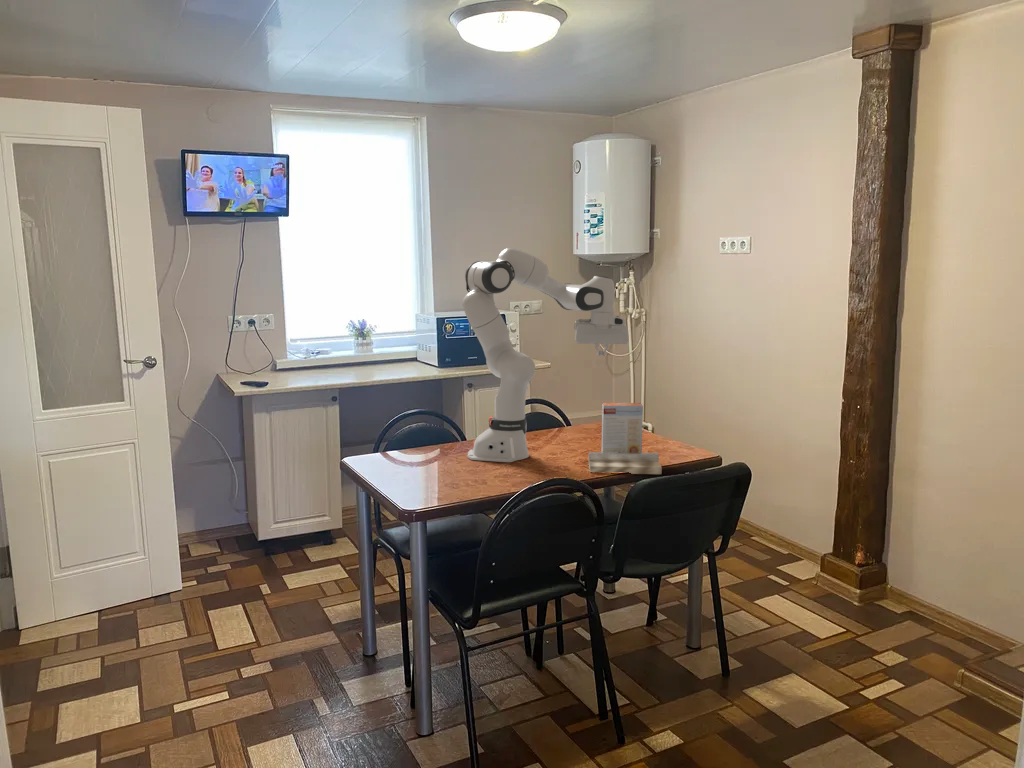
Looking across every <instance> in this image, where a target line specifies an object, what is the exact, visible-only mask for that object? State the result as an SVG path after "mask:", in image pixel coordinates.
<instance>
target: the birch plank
mask: <svg viewBox="0 0 1024 768" xmlns="http://www.w3.org/2000/svg"><path fill="white" fill-rule="evenodd" d="M588 465H589V466H588V469H590V470H589V473H590V472H629V473H631V474H632V475H635V474H636V475H662V471H663V467H662V465H661V463H660V462H639V461H589V460H588ZM631 474H630V475H631Z"/></svg>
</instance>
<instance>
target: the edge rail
mask: <svg viewBox="0 0 1024 768" xmlns="http://www.w3.org/2000/svg"><path fill="white" fill-rule="evenodd" d="M659 454H660V453H659V452H642V453H621V452H601V451H588V462H589V461H639V462H659V461H660V460H659V459H660V457H659V456H660V455H659ZM659 463H660V462H659Z"/></svg>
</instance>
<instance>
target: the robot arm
mask: <svg viewBox="0 0 1024 768" xmlns="http://www.w3.org/2000/svg"><path fill="white" fill-rule="evenodd" d="M464 275H465V276H464V278H465V283H466V285H465V286H466V291H467V292H468V293H466V295H465V296H464V297H463V299H462V307H463V310H464V313H465V315H466V319H467V320H468V321H467V322H469V325H470V327H471V328H472V330H473V332H474V334H475V336H476V337H477V340H478V342H479V344H480V345H481V347H482V351H483V354H484V357H485V361H486V362H485V363H486V367H487V369H488V370H489V372H490V373H491V374H492V375H494V376H495V377H497V378H499V379H500V385H499V388H498V392H497V393H496V395H495V396H494V417H493V416H489V417H488V427H489V428H487V429H486V430H485V431H483V432H482V433H480V434H479V435H478V436H476V438H475V440H474V443H473V448H471V449H469V450H468V451H467V458H468V459H469V460H472V461H483V462H484V461H485V462H499V463H513V462H515V461H520V460H525V459H528V458H529V457H530V453H529V450H528V444H527V434H526V433H527V430H528V429H527V417H526V396H527V392H528V387H529V383H530V381H531V380H532V379H533V377H534V376H535V372H536V364H535V362H534V360H533V359H532V358H531V357H530V356H528V355H527V353H524V352H521V351H518V350H515V349H514V348H513V346H512V343H511V339H510V330H509V327H508V326H507V324H506V322H505V320H504V319H503V316H502V315H501V313H500V311H499V310H498V308H497V306H496V304H495V300H494V294H500V293H502V292H504V291H507V289H508V288H509V287H510V286H511V284H512V282H514V283H517V284H519V285H520V286H523V287H526V288H528V289H532V290H537V291H540V292H541V293H543V294H545V295H547V296H550V297H551V298H553V299H554V300H555V302H556V303H557V304H558V305H559V306H560V308H561V309H563V310H566V311H578V312H589V311H590V318H585V319H584V318H580V319H577V320H575V321H574V326H573V327H574V330H575V334H574V342H575V344H578V345H579V344H580V345H581V344H583V345H585V344H586V345H594V348H595V350H596V356H597V357H598V356H599V357H601V356H602V357H605V356H606V351H607V350H608V348H609V345H627V344H628V343H629V341H630V340H629V337H630V335H629V330H628V327H627V326H626V323H627V320H626V319H625V318H624V317H621V316H619V315H615V308H614V302H615V298H616V296H615V295H616V294H615V293H616V292H615V291H616V290H615V283H614V280H613V279H612V278H611V277H608V276H604V275H603V276H602V275H594V276H593V278H591V279H590V280H588V281H587V282H585V283H582V284H574V283H562V282H560V281H558V280H557V279H554V278H553V277H552V276H550V275H549V267H548V265H547V264H546V263H545V262H544V261H542V260H541V259H539V258H537V257H536V256H534V255H532V254H529V253H528V252H526V251H522V250H520V249H517V248H512V247H507V248H504V249H503V250H502V251H501V252H500V253H499V255H498V257H497V259H496V260H494V261H492V260H477V261H475V262H473V263H471V264H470V265H468V267H467V268H466V270H465V274H464ZM599 345H603V347H604V349H603V350H599V348H598V347H599Z"/></svg>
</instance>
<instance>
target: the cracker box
mask: <svg viewBox="0 0 1024 768" xmlns="http://www.w3.org/2000/svg"><path fill="white" fill-rule="evenodd" d="M601 406H602V407H601V447H600V448H601V450H600V452H621V453H643V451H642V450H643V423H644V422H643V417H644V416H643V414H644V411H643V410H644V406H643V405H642V403H641V402H602V404H601Z"/></svg>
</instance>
